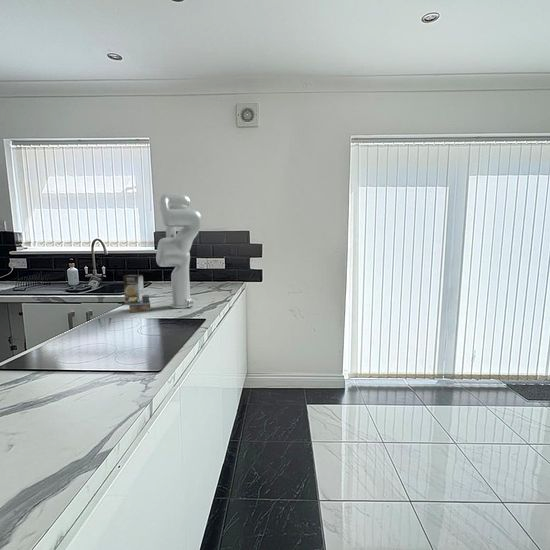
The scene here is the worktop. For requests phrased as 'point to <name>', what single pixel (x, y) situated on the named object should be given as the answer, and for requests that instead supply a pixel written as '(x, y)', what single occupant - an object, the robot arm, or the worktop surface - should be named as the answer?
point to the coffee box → (133, 287)
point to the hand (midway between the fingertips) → (172, 254)
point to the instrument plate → (139, 301)
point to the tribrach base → (139, 308)
